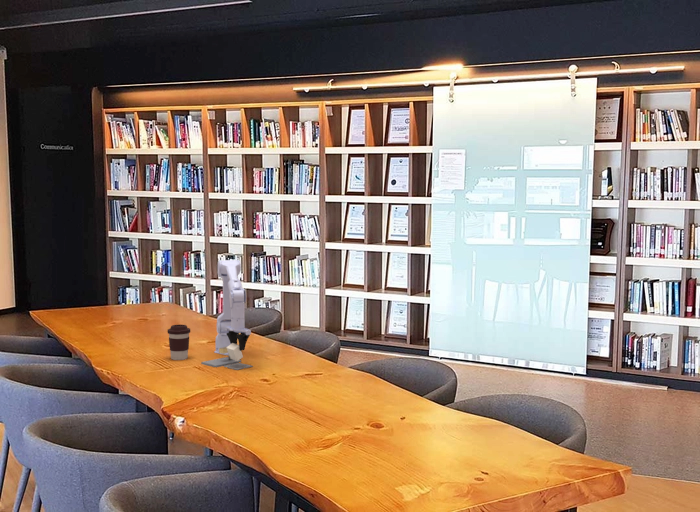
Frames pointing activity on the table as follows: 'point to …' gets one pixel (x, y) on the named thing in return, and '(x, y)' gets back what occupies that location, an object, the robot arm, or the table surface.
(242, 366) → the mat
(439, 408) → the table surface
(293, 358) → the table surface
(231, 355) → the white rectangular block
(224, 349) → the tan rectangular bar
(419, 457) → the table surface
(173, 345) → the coffee cup
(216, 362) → the panel
